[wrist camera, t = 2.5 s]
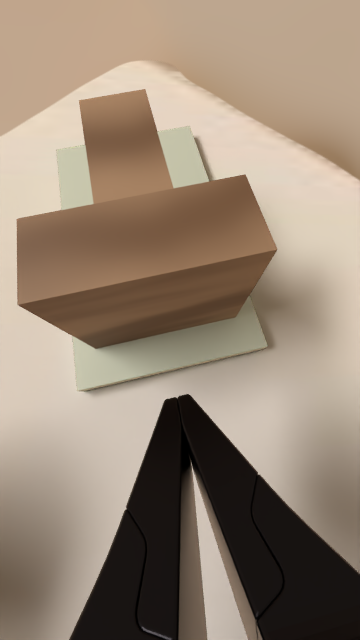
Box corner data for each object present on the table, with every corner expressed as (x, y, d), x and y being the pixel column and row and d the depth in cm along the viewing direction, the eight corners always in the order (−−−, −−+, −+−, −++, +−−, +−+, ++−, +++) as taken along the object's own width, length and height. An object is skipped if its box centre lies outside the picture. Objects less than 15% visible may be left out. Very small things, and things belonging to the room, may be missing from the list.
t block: (235, 317, 17) (277, 249, 9) (95, 348, 16) (17, 305, 9) (197, 198, 20) (204, 78, 13) (80, 221, 20) (15, 111, 12)
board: (263, 349, 17) (267, 346, 16) (83, 391, 16) (76, 391, 15) (189, 136, 24) (189, 125, 23) (61, 159, 23) (56, 149, 22)
